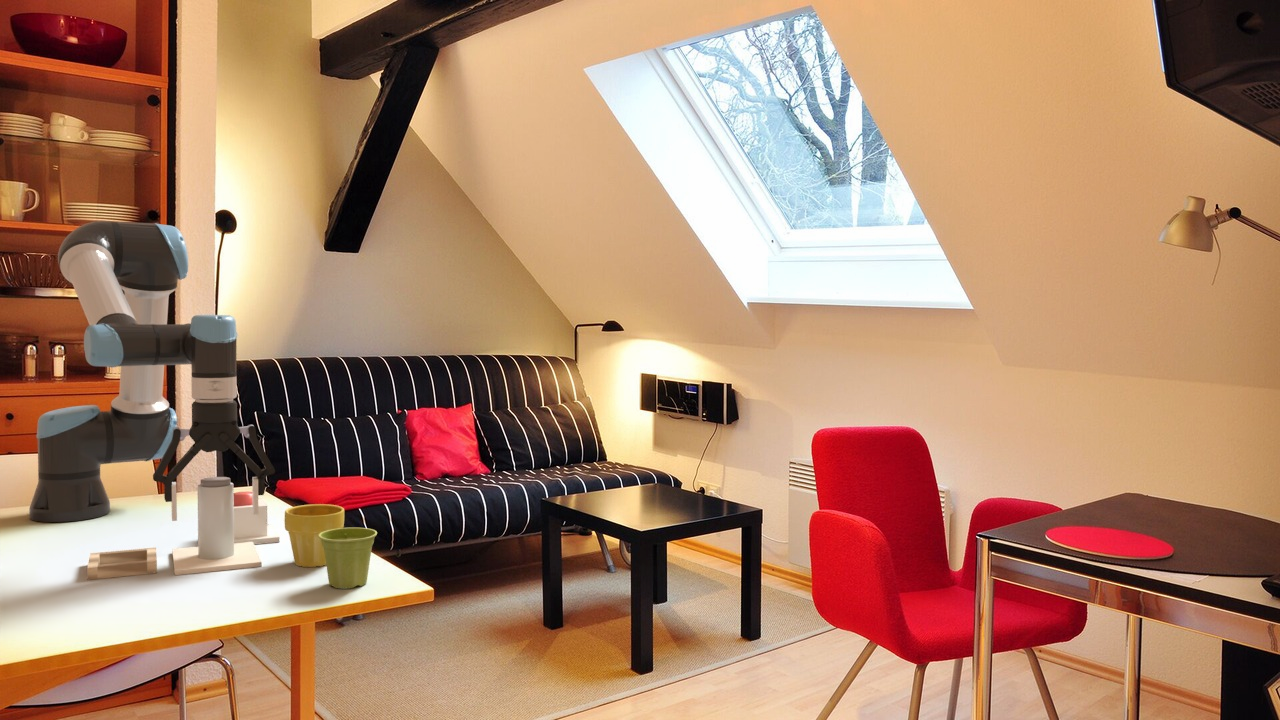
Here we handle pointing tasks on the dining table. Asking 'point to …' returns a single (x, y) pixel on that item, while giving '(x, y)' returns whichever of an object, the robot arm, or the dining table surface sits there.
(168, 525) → the dining table surface
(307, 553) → the plant pot
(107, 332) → the robot arm
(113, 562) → the socket
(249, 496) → the latch button
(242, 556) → the sand mat
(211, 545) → the filter cartridge
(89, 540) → the dining table surface
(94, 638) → the dining table surface
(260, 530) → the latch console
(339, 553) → the plant pot
